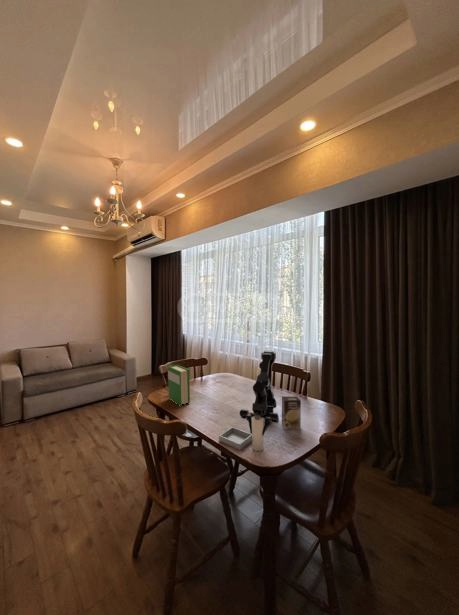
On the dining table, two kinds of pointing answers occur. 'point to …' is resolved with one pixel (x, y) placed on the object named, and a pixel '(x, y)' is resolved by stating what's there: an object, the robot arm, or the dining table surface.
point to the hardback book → (179, 384)
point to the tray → (235, 438)
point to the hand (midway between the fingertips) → (256, 434)
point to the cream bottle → (257, 432)
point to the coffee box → (291, 412)
